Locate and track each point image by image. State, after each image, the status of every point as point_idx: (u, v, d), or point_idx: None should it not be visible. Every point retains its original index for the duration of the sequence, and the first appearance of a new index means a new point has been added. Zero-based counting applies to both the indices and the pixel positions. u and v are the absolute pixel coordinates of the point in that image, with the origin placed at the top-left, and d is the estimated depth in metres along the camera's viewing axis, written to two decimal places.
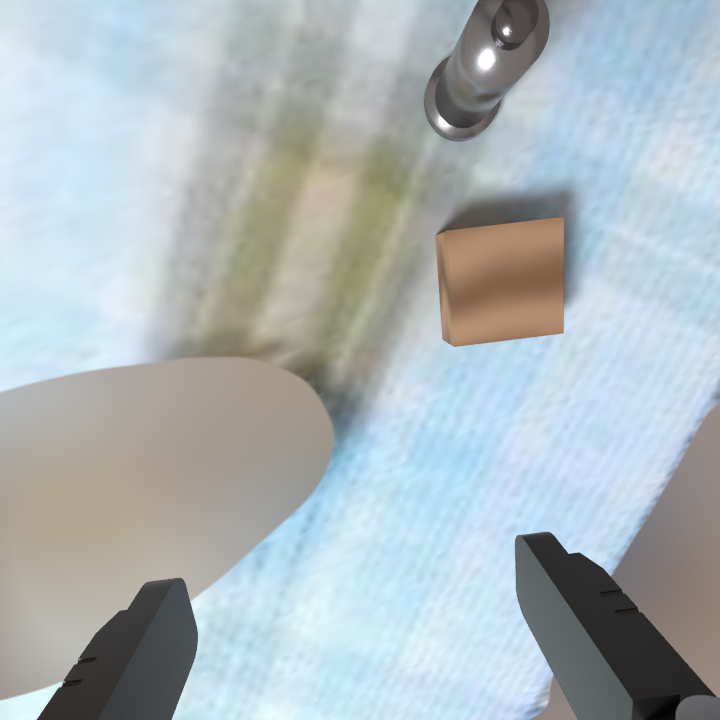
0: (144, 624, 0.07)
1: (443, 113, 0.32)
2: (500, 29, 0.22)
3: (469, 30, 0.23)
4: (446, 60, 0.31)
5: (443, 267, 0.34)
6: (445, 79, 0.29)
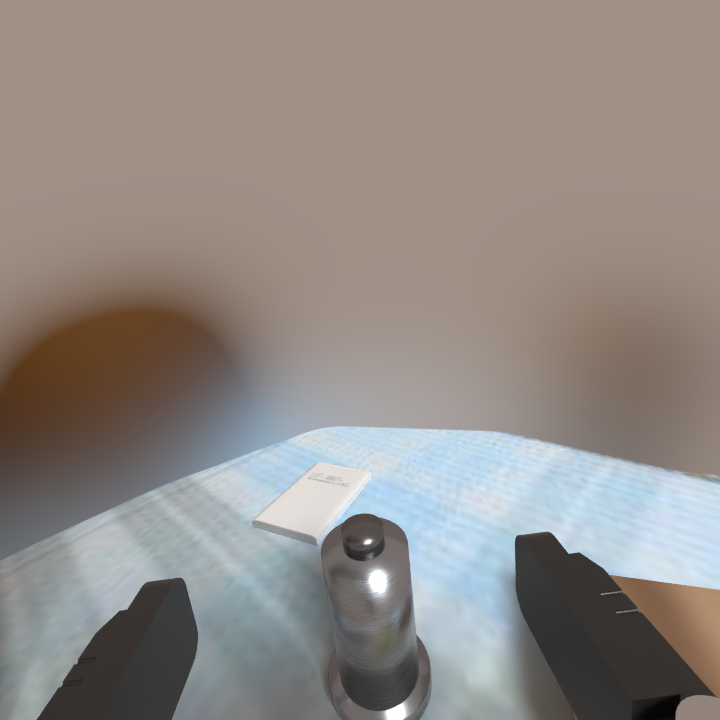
0: (144, 624, 0.07)
1: (392, 697, 0.21)
2: (366, 544, 0.20)
3: (347, 580, 0.19)
4: (331, 676, 0.23)
5: None
6: (361, 665, 0.21)
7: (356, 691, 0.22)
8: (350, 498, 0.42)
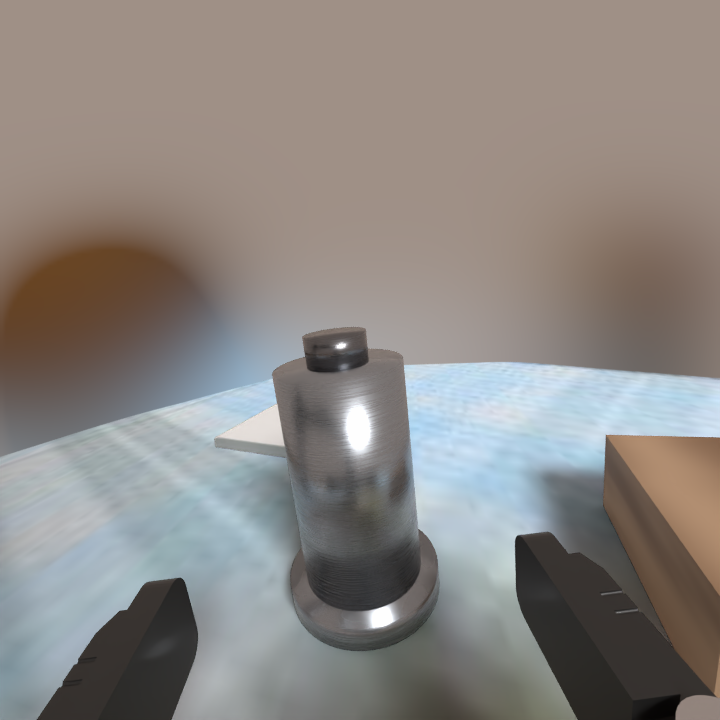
0: (144, 624, 0.07)
1: (381, 589, 0.14)
2: (338, 342, 0.13)
3: (306, 387, 0.12)
4: (293, 575, 0.16)
5: None
6: (333, 535, 0.13)
7: (327, 583, 0.14)
8: None
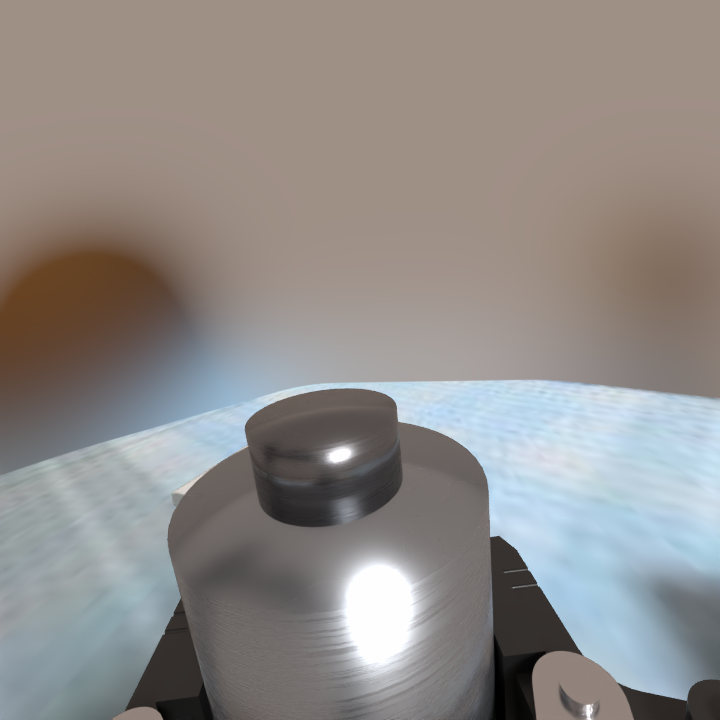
0: None
1: None
2: (329, 455, 0.05)
3: (234, 612, 0.04)
4: None
5: None
6: None
7: None
8: None
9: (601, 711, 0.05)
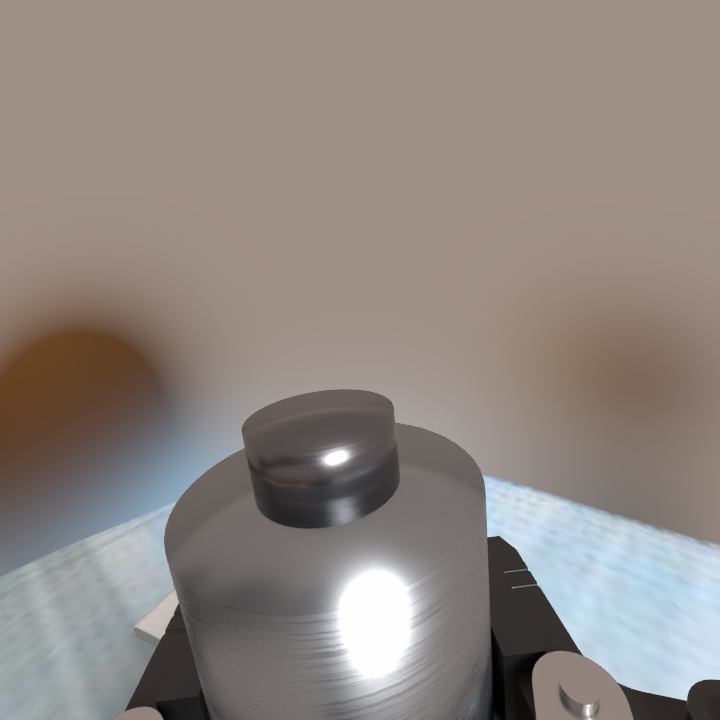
0: None
1: None
2: (326, 457, 0.05)
3: (229, 614, 0.04)
4: None
5: None
6: None
7: None
8: None
9: (601, 711, 0.05)
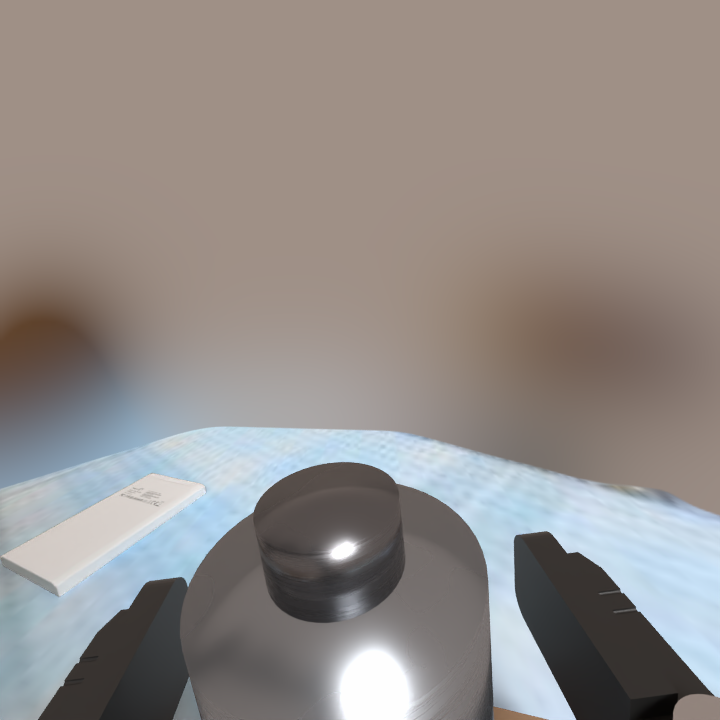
0: (145, 623, 0.07)
1: None
2: (335, 558, 0.05)
3: None
4: None
5: None
6: None
7: None
8: (150, 523, 0.31)
9: None
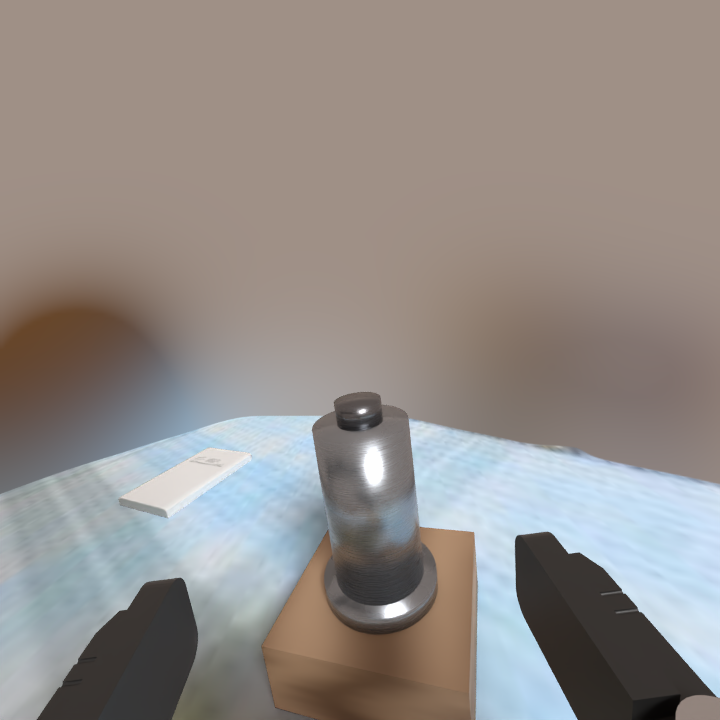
0: (144, 624, 0.07)
1: (394, 589, 0.19)
2: (361, 410, 0.18)
3: (340, 445, 0.17)
4: (326, 579, 0.21)
5: (321, 689, 0.18)
6: (359, 550, 0.18)
7: (354, 585, 0.19)
8: (218, 476, 0.44)
9: None
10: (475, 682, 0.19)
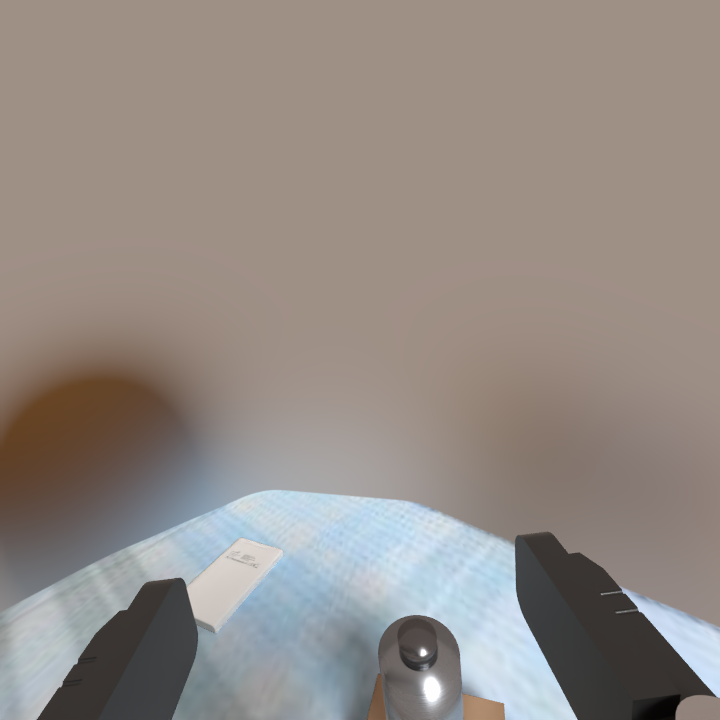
0: (144, 624, 0.07)
1: None
2: (423, 656, 0.22)
3: (408, 695, 0.21)
4: None
5: None
6: None
7: None
8: (255, 581, 0.48)
9: None
10: None
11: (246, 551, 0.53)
